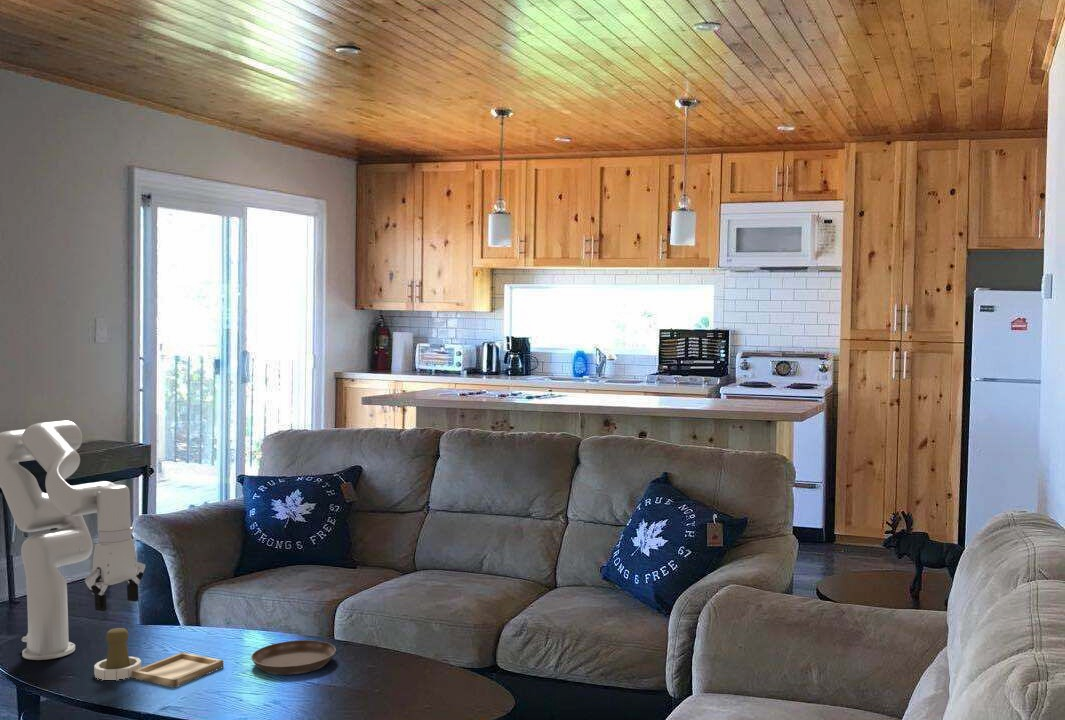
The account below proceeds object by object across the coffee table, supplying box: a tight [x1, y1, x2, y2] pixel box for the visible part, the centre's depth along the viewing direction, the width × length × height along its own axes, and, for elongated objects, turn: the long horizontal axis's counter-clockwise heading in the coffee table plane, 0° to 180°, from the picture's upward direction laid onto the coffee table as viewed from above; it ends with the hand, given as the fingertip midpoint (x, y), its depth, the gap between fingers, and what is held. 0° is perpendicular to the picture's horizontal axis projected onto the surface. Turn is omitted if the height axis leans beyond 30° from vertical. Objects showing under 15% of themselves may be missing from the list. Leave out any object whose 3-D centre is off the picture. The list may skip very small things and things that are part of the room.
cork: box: [105, 627, 130, 669], centre depth 266 cm, size 6×6×11 cm
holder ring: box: [93, 655, 143, 681], centre depth 266 cm, size 10×10×2 cm
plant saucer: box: [251, 639, 337, 676], centre depth 272 cm, size 21×21×3 cm
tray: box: [131, 651, 224, 688], centre depth 266 cm, size 14×16×2 cm
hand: (117, 605), depth 265 cm, fingers open, 9 cm apart
